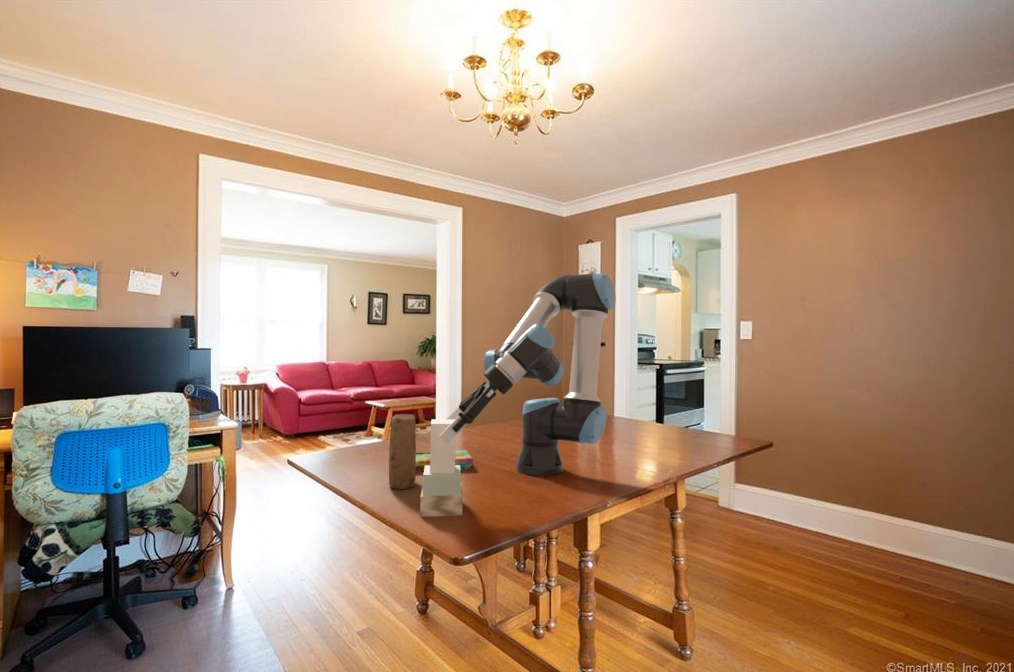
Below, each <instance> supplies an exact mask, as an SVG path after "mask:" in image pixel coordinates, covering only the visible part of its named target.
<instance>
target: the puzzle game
mask: <svg viewBox="0 0 1014 672" xmlns="http://www.w3.org/2000/svg"><path fill="white" fill-rule="evenodd" d="M473 464H474V459H473V457H472V456H471V455H470V453H469V452H468V451H467V450H465V449H464V450H462V449H461V450H455V465H460V469H461V471H462V470H463V471H464V470H470V469H471V466H473ZM425 465H430V451H429V452H427V451H426V452H416V468H417V467H419V468H420V470H421V472H422V471H424V468H425Z"/></svg>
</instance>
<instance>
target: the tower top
mask: <svg viewBox="0 0 1014 672" xmlns="http://www.w3.org/2000/svg"><path fill="white" fill-rule="evenodd" d="M461 484H462V470H461V469H460V465H455V473H430V465H425V468H424V472H423V475H422V486H423V496H452V495H461Z"/></svg>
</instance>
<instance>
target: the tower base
mask: <svg viewBox="0 0 1014 672" xmlns="http://www.w3.org/2000/svg"><path fill="white" fill-rule="evenodd" d="M420 491H421V493H420V497H419V499H420V500H419V501H420V503H419V504H420V505H419V511H420V512H419V517H421V518H423V517H458V516H457V515H462V516H463V499H464V494H463V483H461V495H452V496H423V485H422V486H421V490H420Z"/></svg>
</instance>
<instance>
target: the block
mask: <svg viewBox="0 0 1014 672" xmlns="http://www.w3.org/2000/svg"><path fill="white" fill-rule="evenodd" d="M416 427H417V425H416V416H415V415H414V414H412V413H411V414H408V413H403V414H402V413H401V414H395V415H393V416H392V417H391V421H390V432H389V433H390V434H389V436H390V437H389V448H388V449H389V450H388V451H389V453H388V485H389V487H390V488H392V489H398V490H404V489H405V490H406V489H410V488H412V487H414V486H415V485H416V469H417V467H416V453H417V452H416V450H417V448H416V447H417V446H416V445H417V444H416V443H417V442H416V441H417V439H416V433H417V432H416Z"/></svg>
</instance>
